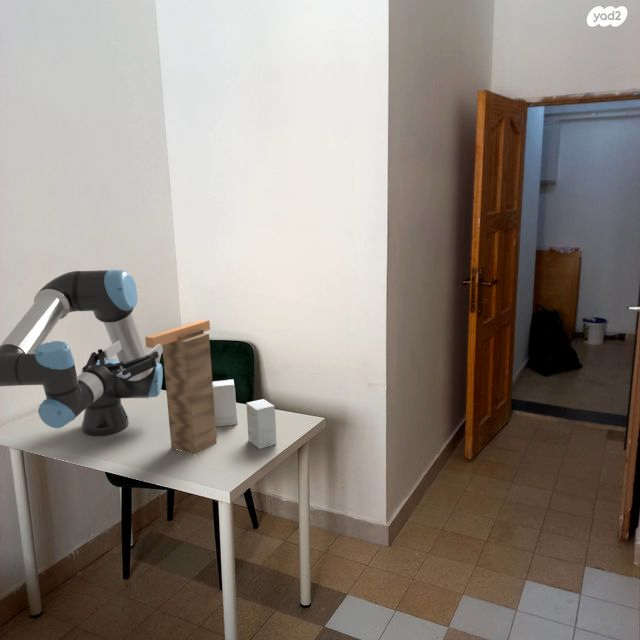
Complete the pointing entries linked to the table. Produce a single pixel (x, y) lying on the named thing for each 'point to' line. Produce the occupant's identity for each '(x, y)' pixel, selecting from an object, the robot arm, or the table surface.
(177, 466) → the table surface
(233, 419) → the skincare box
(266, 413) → the small box
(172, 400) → the post
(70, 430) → the table surface
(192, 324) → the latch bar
